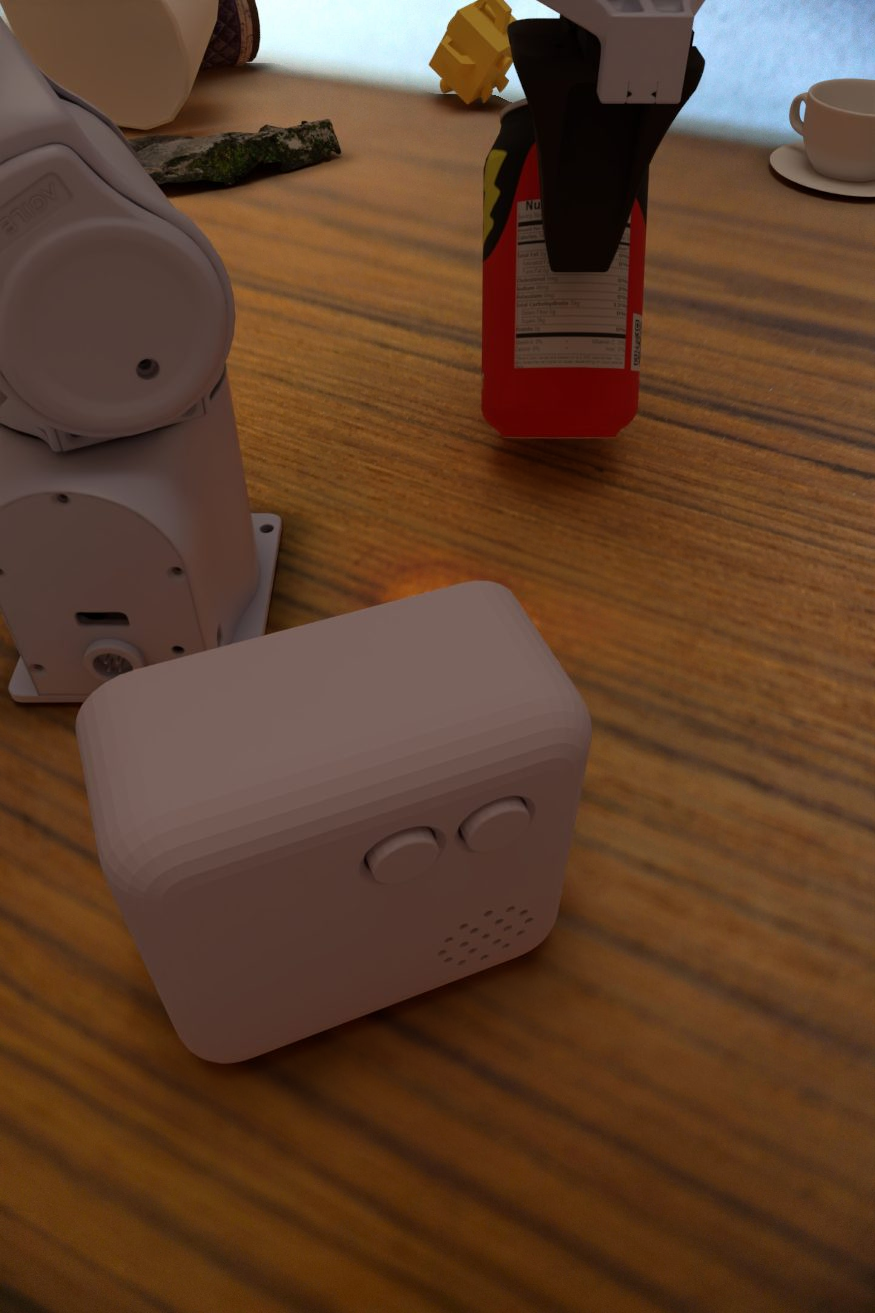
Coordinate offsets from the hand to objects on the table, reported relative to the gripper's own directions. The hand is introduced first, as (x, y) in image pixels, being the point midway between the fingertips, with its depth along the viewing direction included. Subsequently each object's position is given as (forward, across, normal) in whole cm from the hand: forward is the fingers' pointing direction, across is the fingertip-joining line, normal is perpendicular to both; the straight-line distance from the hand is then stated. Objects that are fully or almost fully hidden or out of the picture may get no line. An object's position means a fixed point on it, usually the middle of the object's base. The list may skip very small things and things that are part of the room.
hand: (577, 263), depth 34 cm
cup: (-2, +54, +22) cm, 58 cm away
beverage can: (+7, 0, 0) cm, 7 cm away
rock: (+8, +29, +20) cm, 36 cm away
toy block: (+7, +47, 0) cm, 48 cm away
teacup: (+9, +34, -22) cm, 41 cm away
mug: (+6, +52, +31) cm, 61 cm away
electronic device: (+9, -22, +7) cm, 24 cm away
